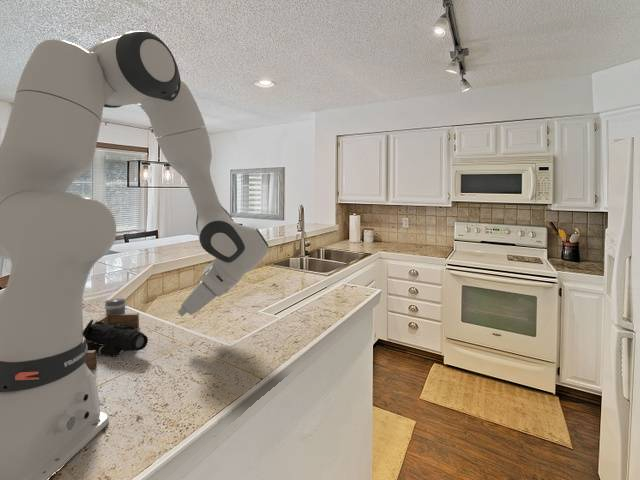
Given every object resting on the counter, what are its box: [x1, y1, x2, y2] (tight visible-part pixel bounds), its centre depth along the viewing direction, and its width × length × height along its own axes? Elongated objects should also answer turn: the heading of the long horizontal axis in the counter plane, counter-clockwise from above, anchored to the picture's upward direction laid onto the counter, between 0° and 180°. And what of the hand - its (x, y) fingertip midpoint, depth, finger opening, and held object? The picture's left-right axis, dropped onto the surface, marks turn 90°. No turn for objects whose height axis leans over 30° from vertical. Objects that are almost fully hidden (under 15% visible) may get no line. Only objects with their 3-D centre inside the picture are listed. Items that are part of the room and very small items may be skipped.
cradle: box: [83, 313, 140, 371], centre depth 85 cm, size 26×9×4 cm, turn 9°
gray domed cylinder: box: [104, 297, 127, 314], centre depth 101 cm, size 5×5×7 cm
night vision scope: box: [83, 319, 149, 358], centre depth 81 cm, size 8×18×10 cm
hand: (180, 312), depth 87 cm, fingers closed
